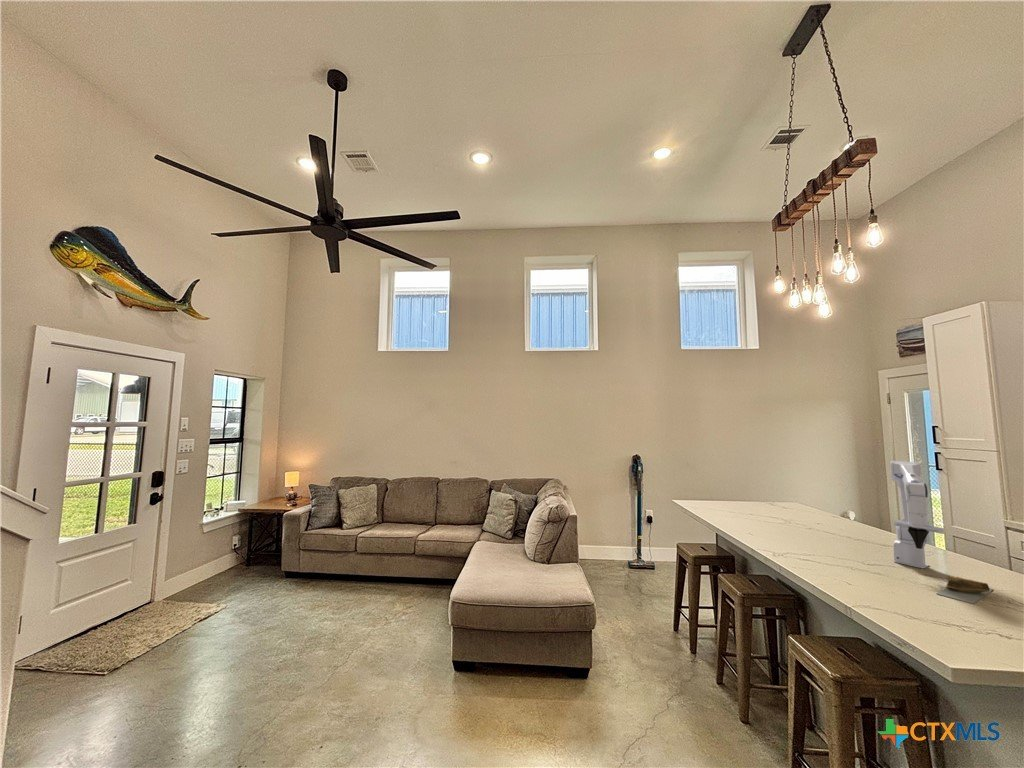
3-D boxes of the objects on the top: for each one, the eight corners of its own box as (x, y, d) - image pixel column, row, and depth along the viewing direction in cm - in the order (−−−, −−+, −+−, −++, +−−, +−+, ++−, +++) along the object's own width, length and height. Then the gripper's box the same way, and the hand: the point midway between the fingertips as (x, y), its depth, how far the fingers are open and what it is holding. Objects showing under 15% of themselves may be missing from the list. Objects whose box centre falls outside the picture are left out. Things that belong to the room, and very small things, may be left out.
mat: (936, 594, 148) (936, 593, 148) (958, 581, 161) (958, 580, 161) (973, 604, 141) (973, 603, 141) (993, 590, 153) (993, 589, 153)
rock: (959, 573, 158) (968, 564, 152) (983, 596, 152) (993, 588, 145) (930, 584, 160) (937, 576, 153) (952, 607, 154) (960, 600, 147)
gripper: (890, 510, 173) (891, 544, 172) (938, 518, 160) (941, 554, 159) (896, 508, 176) (898, 542, 175) (945, 516, 164) (947, 552, 163)
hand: (919, 548), depth 167 cm, fingers closed
